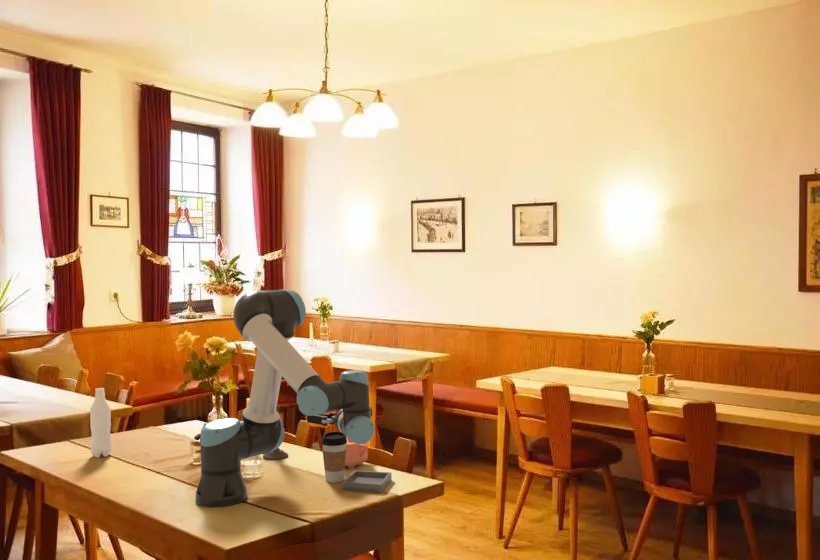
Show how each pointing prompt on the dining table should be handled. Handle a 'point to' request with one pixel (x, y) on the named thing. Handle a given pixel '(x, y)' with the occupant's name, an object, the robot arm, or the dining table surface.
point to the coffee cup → (334, 456)
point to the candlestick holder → (276, 453)
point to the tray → (367, 481)
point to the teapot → (355, 454)
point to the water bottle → (100, 425)
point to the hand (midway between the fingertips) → (334, 411)
